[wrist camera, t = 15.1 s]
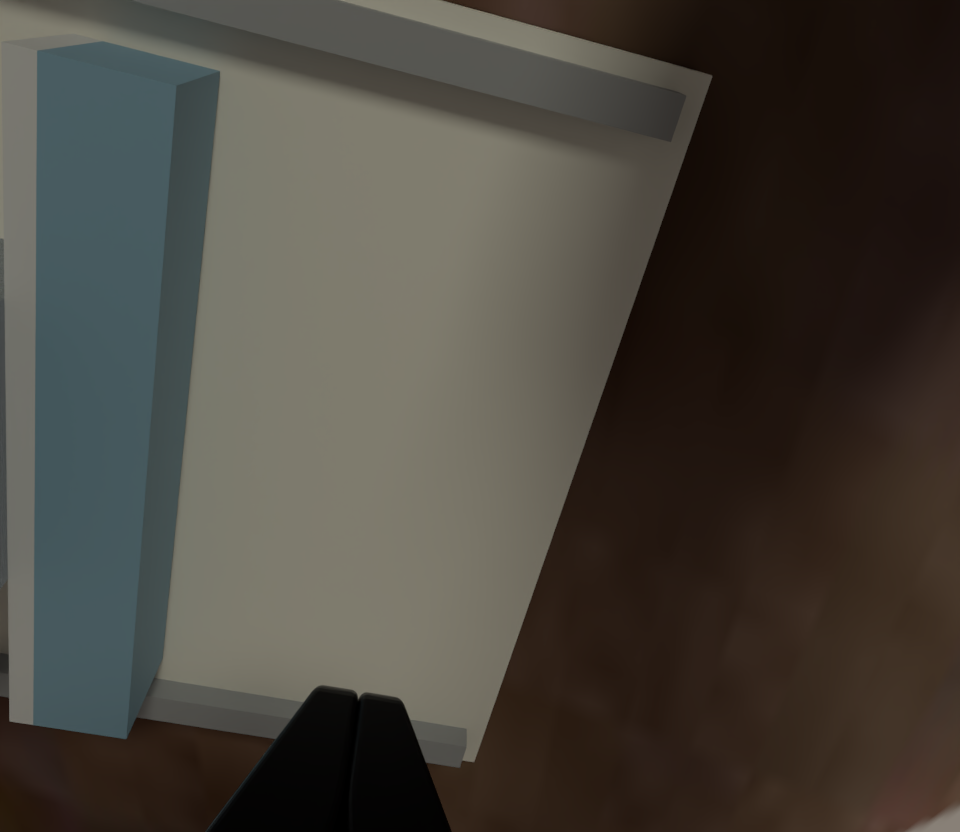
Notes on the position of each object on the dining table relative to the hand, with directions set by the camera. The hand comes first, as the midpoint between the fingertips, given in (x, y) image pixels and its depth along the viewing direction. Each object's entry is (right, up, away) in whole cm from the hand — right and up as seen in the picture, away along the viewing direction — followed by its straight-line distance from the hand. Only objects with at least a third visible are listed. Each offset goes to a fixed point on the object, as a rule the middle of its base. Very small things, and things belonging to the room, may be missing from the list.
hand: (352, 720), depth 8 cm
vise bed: (-6, +4, +10) cm, 13 cm away
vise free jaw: (-6, +3, +9) cm, 12 cm away
